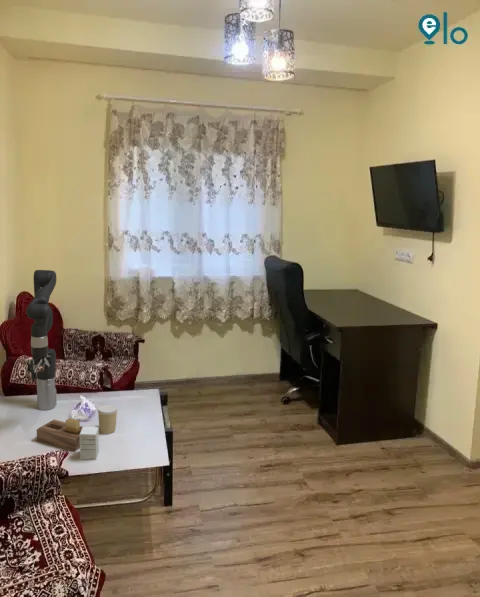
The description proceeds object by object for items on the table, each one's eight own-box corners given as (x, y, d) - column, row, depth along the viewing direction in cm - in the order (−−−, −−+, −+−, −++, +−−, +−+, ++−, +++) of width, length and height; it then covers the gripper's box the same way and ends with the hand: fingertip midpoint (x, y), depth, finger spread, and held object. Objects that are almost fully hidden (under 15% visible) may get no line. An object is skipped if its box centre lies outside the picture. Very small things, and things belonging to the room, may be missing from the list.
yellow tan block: (69, 437, 250) (69, 418, 248) (79, 440, 248) (79, 420, 246) (65, 439, 248) (65, 420, 246) (76, 442, 246) (76, 423, 244)
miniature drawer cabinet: (82, 451, 241) (82, 426, 239) (99, 451, 242) (99, 426, 239) (79, 459, 234) (79, 433, 231) (96, 459, 235) (96, 434, 232)
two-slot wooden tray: (54, 430, 259) (53, 419, 258) (91, 440, 252) (91, 429, 251) (36, 440, 248) (36, 429, 247) (75, 451, 241) (74, 439, 240)
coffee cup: (120, 428, 265) (120, 406, 263) (110, 436, 257) (110, 413, 254) (104, 425, 268) (104, 403, 266) (94, 432, 260) (94, 410, 257)
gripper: (43, 339, 258) (44, 370, 261) (22, 347, 245) (23, 379, 248) (55, 342, 255) (56, 373, 259) (35, 349, 242) (36, 382, 246)
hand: (40, 376), depth 253 cm, fingers open, 8 cm apart
